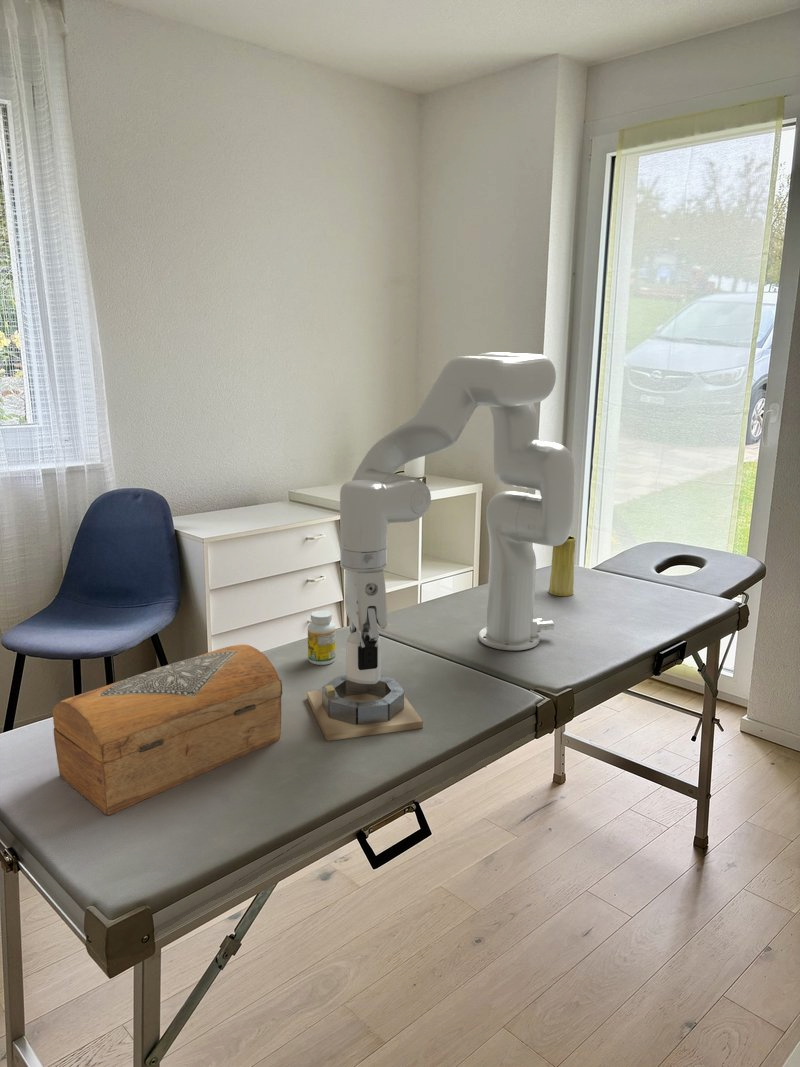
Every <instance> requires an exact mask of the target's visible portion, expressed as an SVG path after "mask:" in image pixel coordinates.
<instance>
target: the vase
mask: <svg viewBox="0 0 800 1067" xmlns="http://www.w3.org/2000/svg"><path fill="white" fill-rule="evenodd" d="M575 549H576V537H575V536H573V535H569V537H568V539H567V540H566V541H565V542H564V543H563V544H561V545H559V546H552V552H551V553H552V554H551V568H550V576H549V577H550V578H549V587H548V593H549V594H550V595H553V596H558V597H570V596H572V595H573V594H574V593H575V592H574V591H575V590H574V584H575V583H574V582H575V581H574V579H575V552H576V550H575Z"/></svg>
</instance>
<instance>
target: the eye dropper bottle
mask: <svg viewBox="0 0 800 1067" xmlns="http://www.w3.org/2000/svg"><path fill="white" fill-rule="evenodd" d="M363 627H364V628H368V625H363ZM368 634H369V632H364V639H365V636H366V635H368ZM381 641H382V640H381V638H380V637H379V638H378V667H377V668H375V669H367V670H359V668H358V646H360V638H359V630H358V629H357V628H356V632H353V633H350V634H349V635H348V636H347V638H346V675H347V679H348V680H350V681H352V682H356V683H361V684H376V683H377V682H378V681H379V680H380V678H381V676H382V673H381V672H382V671H381V670H382V669H381V668H382V663H381V662H382V659H381V657H382V652H381V651H382V649H381V648H382V647H381V646H382V642H381Z"/></svg>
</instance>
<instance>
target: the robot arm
mask: <svg viewBox="0 0 800 1067" xmlns="http://www.w3.org/2000/svg"><path fill="white" fill-rule="evenodd" d="M555 368H556V367H555V365H554V364H553V362H552V361H551V359H550V358H549V357H547V356H545V355H543V354H538V353H516V352H515V353H514V352H500V351H499V352H497V351H496V352H495V351H494V352H493V351H492V352H483V353H479V354H475V355H461V356H456V357H453V358H451V359H450V360H449V361H448V362H447V363H446V364H445V366H444V367H443V368H442V370H441V372H440V373H439V375H438V377H437V378H436V380H435V381H434V383H433V385H432V386H431V389H430V390H429V391H428V393H427V395H426V396H425V398H424V399H423V401H422V403H421V404H420V406H419V408H418V409H417V411H416V412H415V414H414V416H413V417H412V418H411V419H409V420H407V421H406V422H404V423H402V424H401V425H399V426H397V427H396V428H394V429H393V430H391V431H390V432H389V433H388V434H386V435H384V436H383V437H382V438H380V439H378V441H377V442H376V443H375V444H374V445H372V447H371V448H370V449H369V450H368V451H367V453H366V454H365V456H364V458H363V459H362V461H361V462H360V463H359V466H358V467H357V469H356V471H355V472H354V475H353V477H352V479H351V480H350V481H346V482H345V483H343V484H342V485H341V488H340V491H339V512H340V513H339V525H340V528H339V533H340V534H339V538H340V539H339V540H340V541H339V543H340V544H339V546H340V547H339V548H340V550H339V551H340V552H339V553H340V554H339V555H340V556H339V558H340V564H339V565H340V568H341V569H343V570H345V571H344V575H345V576H344V577H345V578H344V605H345V606H344V608H345V612H346V615H347V617H348V620H350V622H349V632H350V634H351V633H353V632H356V628H357V629H358V630H359V638H360V646H358V668H359V670H367V669H375V668H377V667H378V638H380V634H379V628H378V627H380V628H381V629H382V630H385V629H386V628H387V625H388V616H387V615H388V613H387V612H388V611H387V610H388V608H387V592H386V591H387V590H386V578H385V572H384V570H385V569H387V566H388V526H389V524H395V523H400V524H401V523H411V522H415V521H417V520H419V519H420V518H422V517H424V515H425V514H427V512H428V510H429V508H430V506H431V502H432V495H431V491H430V489H429V487H428V485H427V484H426V483H425V482H424V481H422V480H421V479H419V478H416V477H413V476H409V475H405V474H404V475H403V474H398V473H396V472H397V471H398V470H399V469H400V468H402V467H403V466H404V465H406V464H407V463H410V462H412V461H414V460H417V459H419V458H422V457H425V456H429V455H434V454H437V453H440V452H442V451H444V450H447V449H449V448H451V447H453V446H454V445H455V444H456V443H457V441H458V440H459V438H460V436H461V434H462V433H463V430H464V429H465V427H467V426H466V425H467V424H468V423H469V420H470V419H471V417H472V415H473V414H474V412H475V410H476V409H477V408H479V407H481V406H482V407H488V408H489V409H490V412H491V414H492V415H491V416H492V420H493V424H492V425H493V470H494V476H495V478H496V480H498V482H500V483H501V484H504V485H506V486H511V487H516V488H521V489H528V490H534V491H539V493H540V495H539V494H534V493H528V492H522V491H516V490H504V491H500V492H498V493H496V494H494V496H492V497H491V498H490V500H489V502H488V503H487V507H486V511H485V512H486V513H485V515H486V526H487V532H488V541H489V565H488V566H489V567H488V585H487V586H488V587H487V588H488V591H487V607H486V608H487V614H486V626H485V627H483V628H482V629H480V631H479V633H478V639H479V640H478V641H479V642H481V643H482V644H484V645H486V646H487V647H489V648H493V649H496V650H502V651H512V652H513V651H524V650H529V649H532V648H534V647H536V646H538V645H539V643H540V634H539V633H541V631H552V630H554V629H555V623H554V621H553V620H545V621H544V620H543V618H534V607H535V592H536V572H537V558H536V554H535V550H534V548H533V546H532V543H533V544H536V545H542V546H546V547H547V546H549V547H553V546H559V545H561V544H563V543H564V542H565V541H566V540H567V539H568V537H569V535H570V534H571V531H572V527H573V521H574V520H573V519H574V491H575V463H574V459H573V456H572V453H571V451H570V450H569V449H568V448H567V447H566V446H565V445H563V444H561V443H557V442H552V441H545V440H544V441H542V440H540V439H539V436H538V434H539V433H538V413H537V410H536V407H535V405H534V404H535V403H539V402H542V401H544V400H546V399H547V398H548V397H549V396H550V394H552V392H553V390H554V387H555V384H556V379H557V372H556V369H555ZM570 536H571V535H570ZM363 625H368V628H364V627H363ZM364 632H369V634H368V635H366V636H365V639H364Z"/></svg>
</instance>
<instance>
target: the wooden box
mask: <svg viewBox="0 0 800 1067" xmlns="http://www.w3.org/2000/svg"><path fill="white" fill-rule="evenodd" d="M282 684H283V682H282V680H281V678H280V677H279V675H278V672H277V671H276V668H275V667H274V665H273V663H272V662H271V661H270V659H269V658H268V657H267V656H266V655H265V653H263V652H261V651H260V650H259V649H257V648H255V647H254V646H251V645H249V644H235V645H230V646H226V647H223V648H218V649H215V650H212V651H209V652H207V653H203V654H200V655H197V656H195V657H190V658H187V659H184V660H179V661H176V662H173V663H169V664H166V665H163V666H159V667H156V668H154V669H151V670H149V671H146V672H142V673H138V674H137V675H134V676H130V677H128V678H124V679H123V680H119V681H116V682H113V683H110V684H107V685H105V686H101V687H98V688H95V689H92V690H89V691H86V692H83V693H79V694H78V695H74V696H72V697H71V696H70V697H68V698H65V699H62V700H60V701H59V702H57V703H56V704H55V705H54V707H53V711H52V719H53V720H52V721H53V726H54V728H53V739H54V746H55V754H56V760H57V766H58V771H59V777H60V778H61V779H62V780H63V781H64V782H66V784H68V785H69V786H70V787H72V789H74V790H75V791H76V792H78V793H79V794H80V795H81V796H82V797H83V798H85V799H86V800H87V801H88V802H89V803H91V804H92V805H93V806H94V807H96V808H97V809H98V810H100V812H102V813H103V814H105V815H107V816H109V815H113V814H115V813H118V812H120V811H122V810H124V809H128V808H129V807H132V806H134V805H136V804H138V803H140V802H142V801H144V800H147V799H149V798H152V797H154V796H156V795H158V794H160V793H163V792H165V791H167V790H169V789H172V788H174V787H176V786H179V785H181V784H183V783H185V782H187V781H189V780H192V779H194V778H197V777H199V776H201V775H204V774H206V773H208V772H210V771H212V770H215V769H217V768H219V767H221V766H223V765H224V766H225V765H226V764H229V763H230V762H232V761H235V760H237V759H240V758H242V757H244V756H246V755H249V754H251V753H253V752H255V751H258V750H260V749H262V748H263V747H267V746H269V745H271V744H273V743H275V742H277V741H279V740H281V734H282V733H281V732H282V696H283V685H282Z"/></svg>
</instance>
